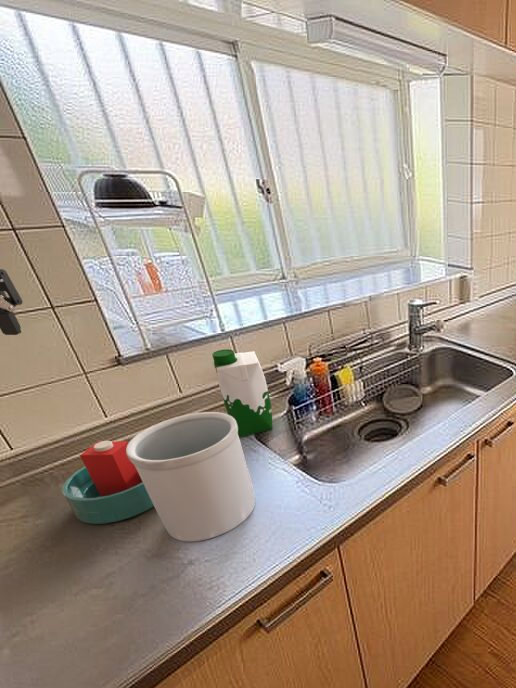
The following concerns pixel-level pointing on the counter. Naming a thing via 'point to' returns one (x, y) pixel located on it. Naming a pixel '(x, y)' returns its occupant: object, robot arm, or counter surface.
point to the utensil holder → (195, 474)
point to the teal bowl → (103, 500)
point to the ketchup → (110, 467)
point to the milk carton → (244, 391)
